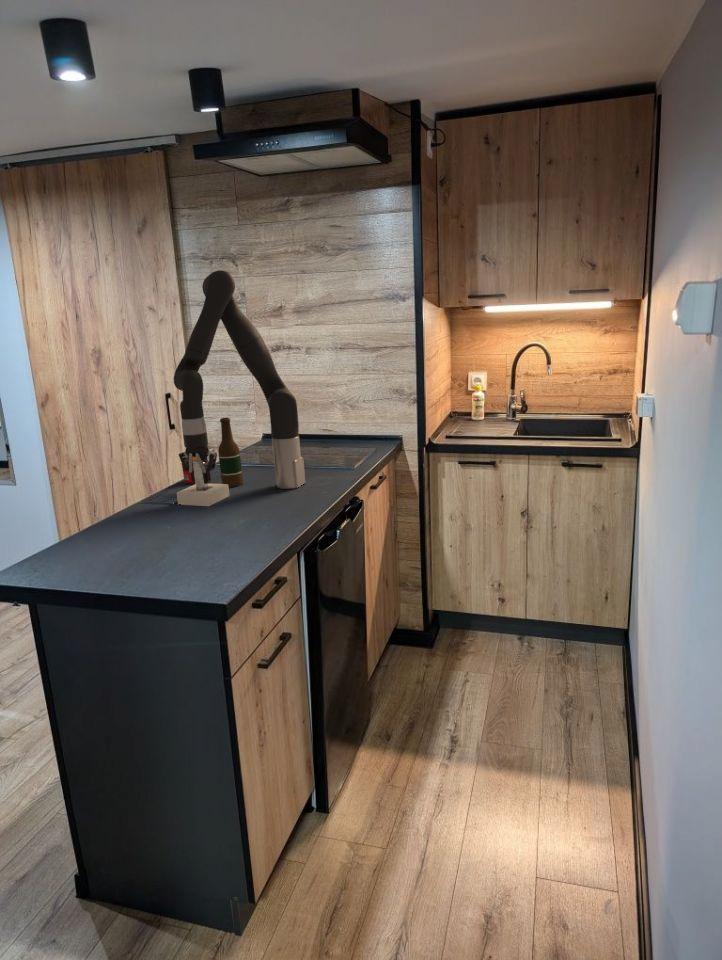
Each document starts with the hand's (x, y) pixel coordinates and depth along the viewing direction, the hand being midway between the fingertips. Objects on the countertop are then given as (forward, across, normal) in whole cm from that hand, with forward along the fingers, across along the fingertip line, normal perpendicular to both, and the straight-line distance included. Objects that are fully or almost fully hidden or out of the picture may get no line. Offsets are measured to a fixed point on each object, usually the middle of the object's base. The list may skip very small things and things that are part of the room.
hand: (201, 482), depth 222 cm
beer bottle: (+6, +1, -19) cm, 20 cm away
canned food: (+6, +18, -21) cm, 29 cm away
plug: (+6, 0, 0) cm, 6 cm away
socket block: (+6, 0, 0) cm, 6 cm away
